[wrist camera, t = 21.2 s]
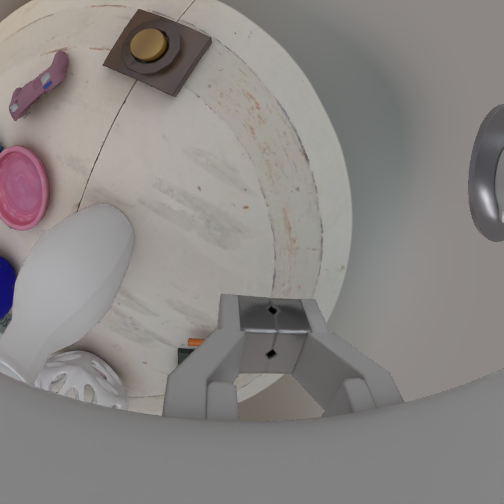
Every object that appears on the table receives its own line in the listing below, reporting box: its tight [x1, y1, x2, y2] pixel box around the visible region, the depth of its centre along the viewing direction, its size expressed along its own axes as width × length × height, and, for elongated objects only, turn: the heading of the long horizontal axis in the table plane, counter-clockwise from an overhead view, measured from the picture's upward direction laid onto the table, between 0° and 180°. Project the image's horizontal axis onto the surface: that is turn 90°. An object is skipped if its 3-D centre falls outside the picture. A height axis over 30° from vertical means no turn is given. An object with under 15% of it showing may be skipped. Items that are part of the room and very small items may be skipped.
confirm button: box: [130, 28, 167, 61], centre depth 21 cm, size 4×4×2 cm
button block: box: [103, 9, 212, 97], centre depth 24 cm, size 10×8×4 cm
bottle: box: [0, 204, 134, 385], centre depth 24 cm, size 11×11×25 cm
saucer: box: [0, 145, 49, 230], centre depth 29 cm, size 12×12×3 cm
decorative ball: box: [36, 351, 128, 411], centre depth 41 cm, size 20×20×17 cm
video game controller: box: [9, 51, 68, 121], centre depth 22 cm, size 10×5×7 cm, turn 111°
